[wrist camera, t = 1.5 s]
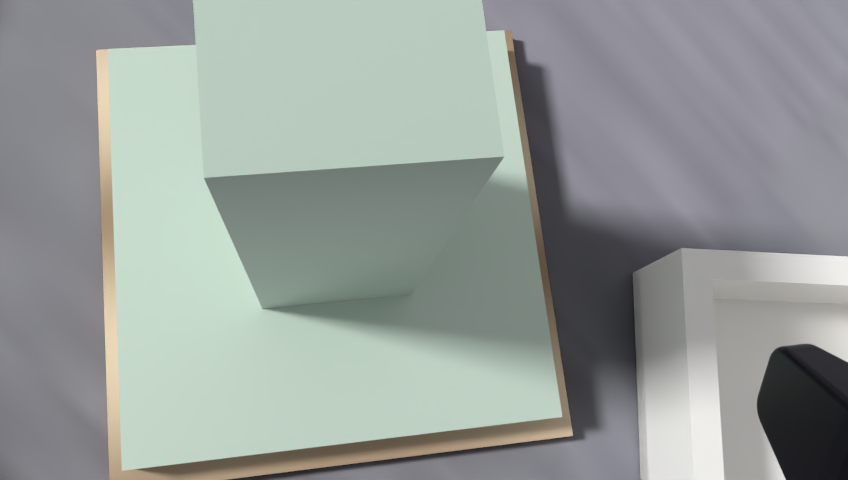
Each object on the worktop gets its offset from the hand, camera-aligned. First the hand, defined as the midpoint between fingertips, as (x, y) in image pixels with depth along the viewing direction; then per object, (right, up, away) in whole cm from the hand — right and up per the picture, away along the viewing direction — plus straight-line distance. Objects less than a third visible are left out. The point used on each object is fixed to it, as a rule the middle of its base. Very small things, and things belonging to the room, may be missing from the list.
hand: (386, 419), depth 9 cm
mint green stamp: (-2, +2, +12) cm, 12 cm away
